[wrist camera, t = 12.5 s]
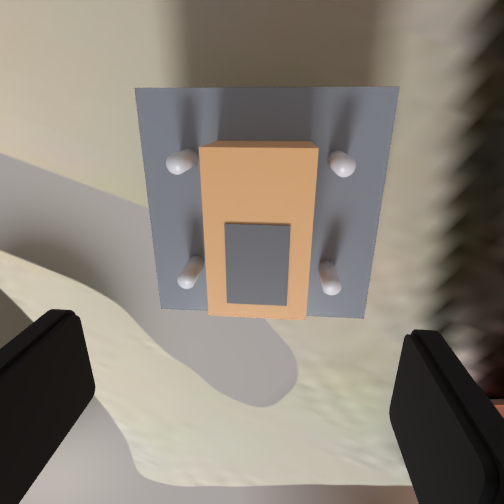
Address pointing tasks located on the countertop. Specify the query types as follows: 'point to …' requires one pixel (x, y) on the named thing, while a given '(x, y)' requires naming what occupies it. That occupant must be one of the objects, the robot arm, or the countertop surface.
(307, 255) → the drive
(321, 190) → the pin tray
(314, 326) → the countertop surface
